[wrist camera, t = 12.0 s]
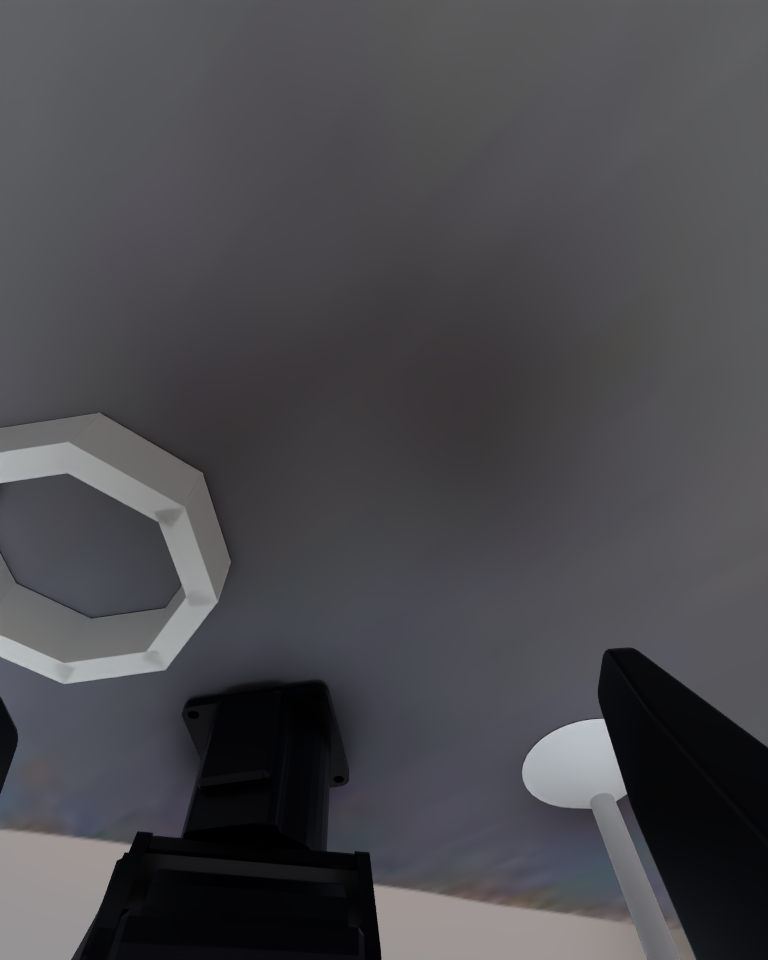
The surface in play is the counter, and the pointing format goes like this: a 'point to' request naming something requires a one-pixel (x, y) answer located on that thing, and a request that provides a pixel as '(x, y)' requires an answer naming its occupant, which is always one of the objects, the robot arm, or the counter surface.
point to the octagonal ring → (144, 487)
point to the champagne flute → (599, 814)
